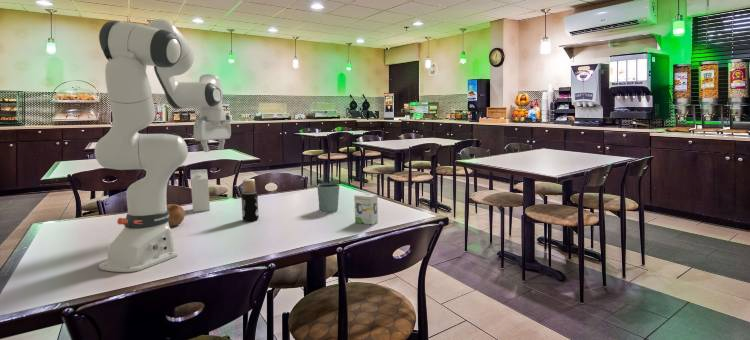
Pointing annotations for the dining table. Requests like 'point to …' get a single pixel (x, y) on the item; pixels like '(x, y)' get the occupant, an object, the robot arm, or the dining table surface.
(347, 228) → the dining table surface
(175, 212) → the onion
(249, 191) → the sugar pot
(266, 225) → the dining table surface
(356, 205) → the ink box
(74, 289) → the dining table surface
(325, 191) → the grey green pot
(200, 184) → the milk carton
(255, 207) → the beverage can
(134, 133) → the robot arm
